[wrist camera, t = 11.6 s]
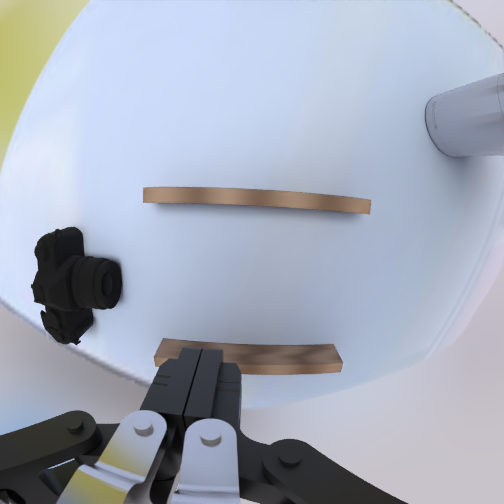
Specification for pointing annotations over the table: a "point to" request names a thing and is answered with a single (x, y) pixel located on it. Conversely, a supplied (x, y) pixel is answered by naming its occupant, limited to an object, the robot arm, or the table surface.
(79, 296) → the film camera
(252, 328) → the table surface
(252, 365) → the walnut chute
